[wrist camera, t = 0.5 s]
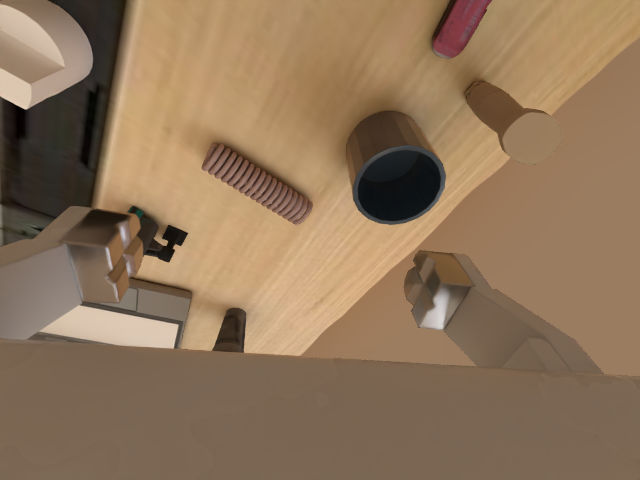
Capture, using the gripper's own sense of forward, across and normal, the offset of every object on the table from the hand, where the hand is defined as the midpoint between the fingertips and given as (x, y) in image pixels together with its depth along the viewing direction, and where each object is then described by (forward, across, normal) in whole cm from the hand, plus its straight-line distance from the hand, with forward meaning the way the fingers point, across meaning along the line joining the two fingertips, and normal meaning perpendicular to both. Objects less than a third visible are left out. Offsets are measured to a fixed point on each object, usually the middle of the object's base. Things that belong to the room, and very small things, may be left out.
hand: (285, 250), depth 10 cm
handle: (+39, -25, -2) cm, 46 cm away
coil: (+42, +2, +17) cm, 45 cm away
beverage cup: (+46, +5, +54) cm, 71 cm away
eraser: (+38, -19, -10) cm, 44 cm away
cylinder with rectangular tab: (+41, +28, +3) cm, 50 cm away
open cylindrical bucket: (+40, -16, +9) cm, 44 cm away
